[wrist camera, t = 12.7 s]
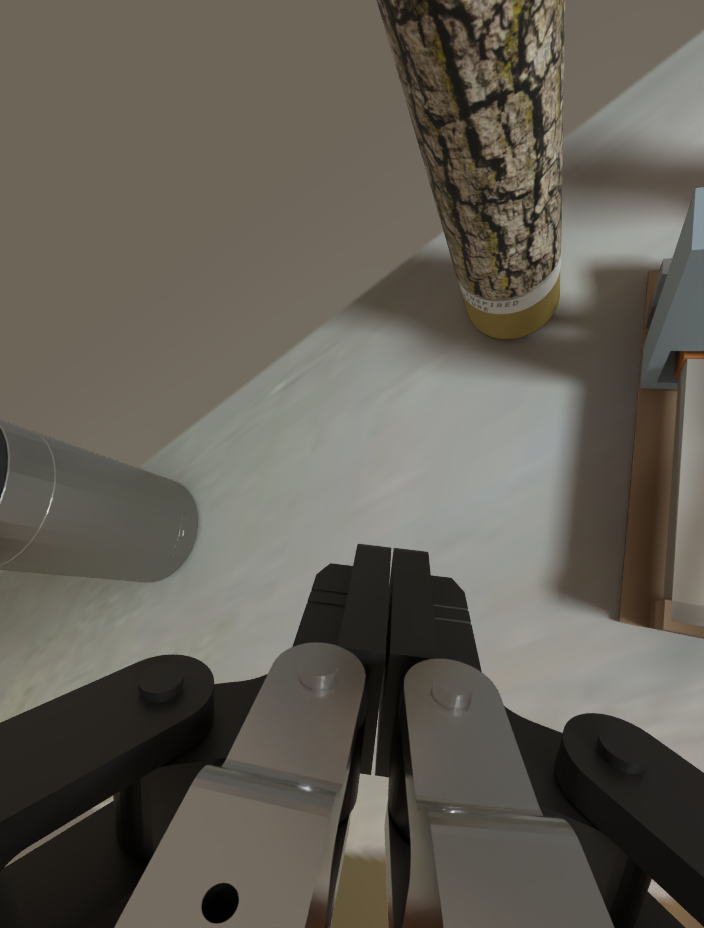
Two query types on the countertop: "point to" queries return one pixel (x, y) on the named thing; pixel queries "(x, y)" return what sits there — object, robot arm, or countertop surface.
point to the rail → (667, 496)
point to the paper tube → (490, 145)
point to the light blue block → (678, 304)
